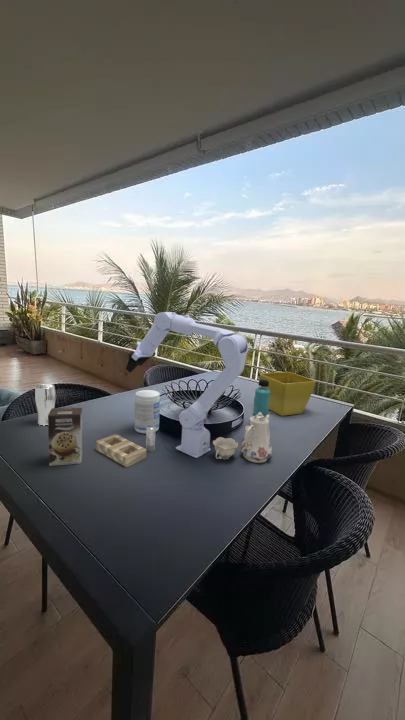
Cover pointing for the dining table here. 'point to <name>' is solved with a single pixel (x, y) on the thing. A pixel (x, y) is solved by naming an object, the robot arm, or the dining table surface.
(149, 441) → the peg
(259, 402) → the beverage bottle
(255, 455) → the chinaware
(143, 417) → the supplement tub
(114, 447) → the hole block
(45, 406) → the beer glass
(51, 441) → the coffee box
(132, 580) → the dining table surface
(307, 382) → the flower pot
